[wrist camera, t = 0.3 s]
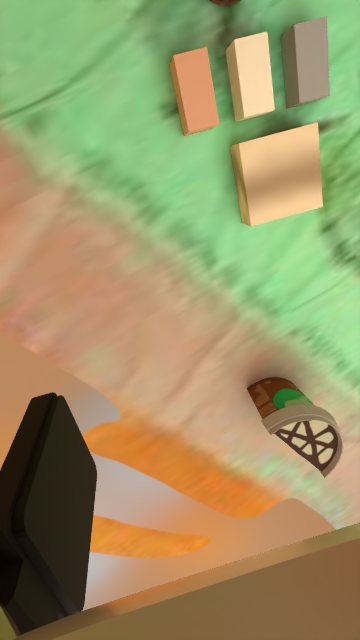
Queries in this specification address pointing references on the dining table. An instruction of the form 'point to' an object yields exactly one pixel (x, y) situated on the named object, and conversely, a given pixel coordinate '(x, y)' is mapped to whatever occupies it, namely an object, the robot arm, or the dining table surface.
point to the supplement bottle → (225, 2)
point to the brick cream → (250, 76)
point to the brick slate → (306, 62)
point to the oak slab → (278, 175)
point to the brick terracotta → (194, 91)
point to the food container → (298, 422)
